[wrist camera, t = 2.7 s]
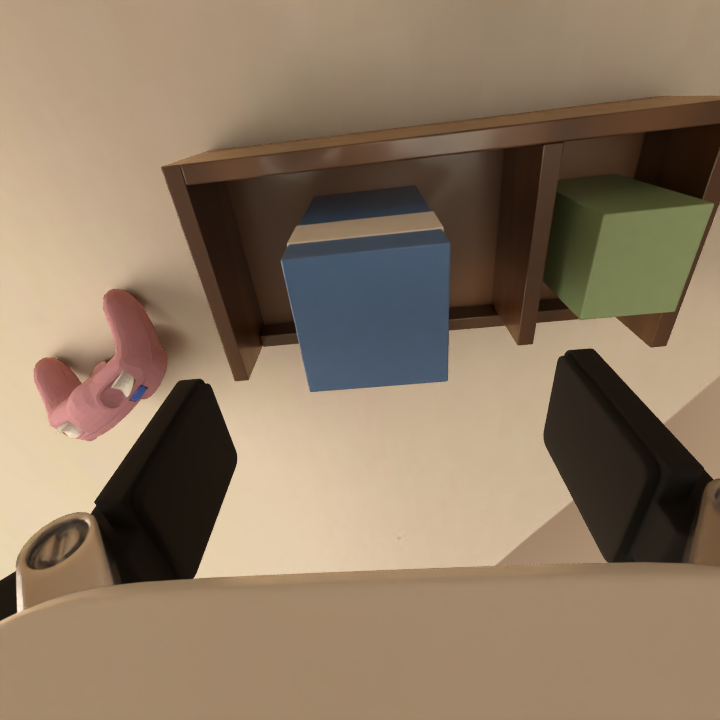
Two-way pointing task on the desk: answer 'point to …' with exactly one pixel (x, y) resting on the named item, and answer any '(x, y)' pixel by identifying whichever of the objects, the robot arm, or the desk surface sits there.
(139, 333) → the video game controller
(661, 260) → the sage carton
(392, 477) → the desk surface
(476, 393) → the desk surface
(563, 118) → the desk shelf
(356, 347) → the blue box
